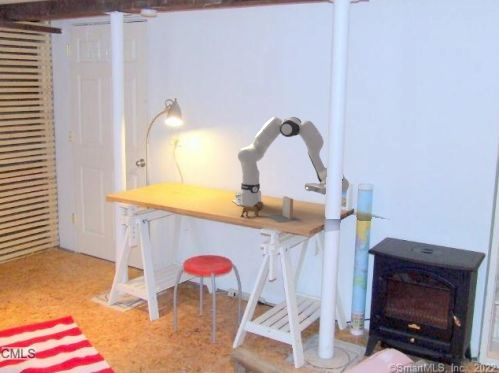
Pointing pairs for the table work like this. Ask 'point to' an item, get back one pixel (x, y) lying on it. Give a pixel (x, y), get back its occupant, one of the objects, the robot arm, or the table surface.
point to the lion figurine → (253, 208)
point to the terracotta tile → (288, 207)
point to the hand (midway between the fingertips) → (307, 189)
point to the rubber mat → (282, 218)
